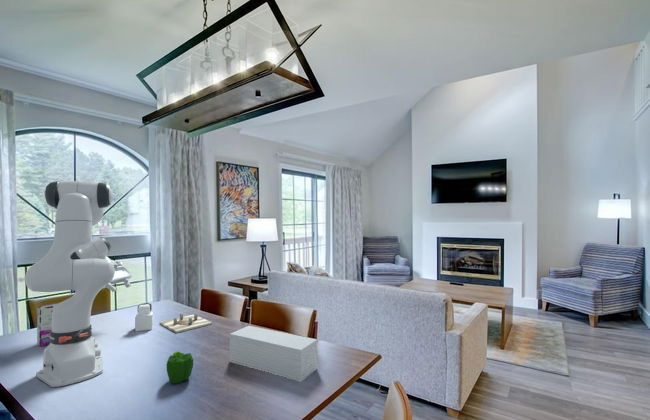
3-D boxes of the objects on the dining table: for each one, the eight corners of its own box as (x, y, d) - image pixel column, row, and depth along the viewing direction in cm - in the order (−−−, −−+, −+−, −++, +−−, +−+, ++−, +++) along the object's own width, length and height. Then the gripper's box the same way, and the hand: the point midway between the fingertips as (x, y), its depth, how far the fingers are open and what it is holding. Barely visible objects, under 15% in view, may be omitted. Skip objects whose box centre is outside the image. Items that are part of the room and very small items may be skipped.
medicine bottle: (136, 327, 161) (137, 303, 161) (152, 325, 164) (153, 301, 164) (135, 332, 154) (135, 306, 155) (151, 329, 157) (152, 305, 158)
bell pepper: (185, 371, 114) (185, 343, 114) (197, 379, 109) (197, 349, 109) (160, 380, 108) (161, 350, 108) (172, 389, 102) (172, 357, 103)
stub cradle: (211, 324, 166) (211, 316, 166) (176, 333, 153) (176, 324, 153) (193, 316, 179) (194, 308, 180) (159, 323, 166) (159, 316, 166)
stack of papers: (229, 362, 122) (229, 333, 122) (248, 352, 132) (248, 325, 132) (301, 382, 107) (301, 349, 107) (316, 369, 116) (316, 339, 117)
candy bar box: (68, 337, 147) (69, 300, 148) (71, 339, 144) (72, 302, 145) (36, 344, 139) (37, 306, 139) (39, 347, 136) (40, 308, 136)
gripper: (91, 267, 152) (110, 288, 150) (123, 261, 172) (140, 280, 171) (82, 276, 152) (101, 297, 151) (115, 269, 173) (132, 288, 171)
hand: (122, 288), depth 161 cm, fingers open, 8 cm apart
